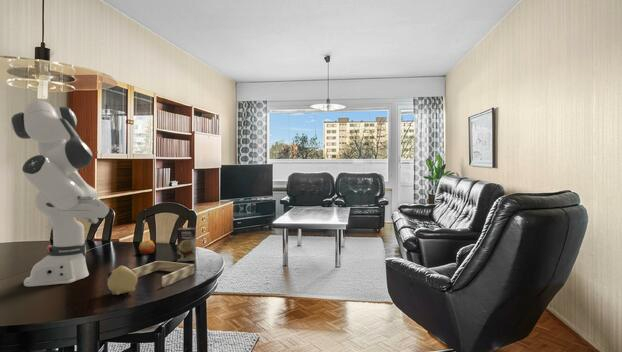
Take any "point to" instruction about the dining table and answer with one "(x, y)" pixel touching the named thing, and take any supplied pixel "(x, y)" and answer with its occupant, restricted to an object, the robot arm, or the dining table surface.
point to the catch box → (177, 270)
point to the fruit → (147, 247)
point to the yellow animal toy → (121, 280)
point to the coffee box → (186, 244)
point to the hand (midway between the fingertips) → (94, 221)
